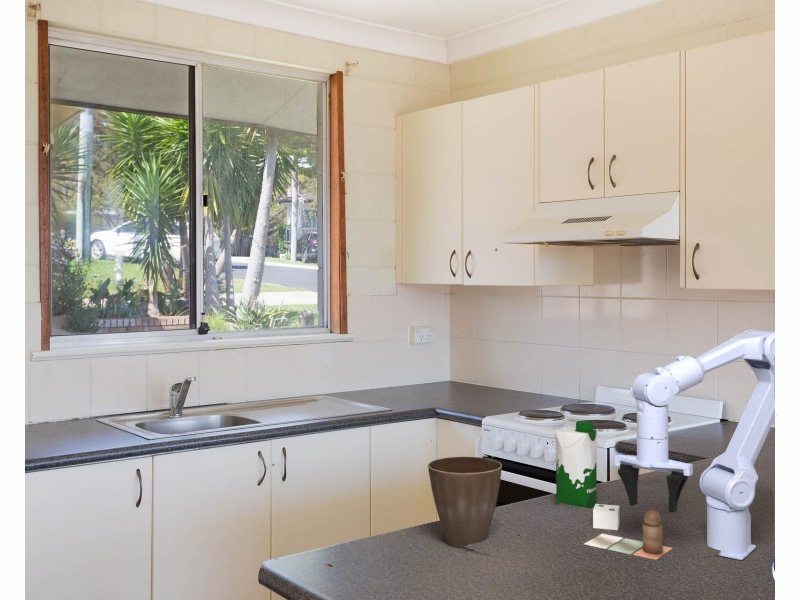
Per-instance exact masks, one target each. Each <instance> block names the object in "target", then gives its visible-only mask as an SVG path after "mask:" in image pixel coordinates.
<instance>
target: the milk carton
mask: <svg viewBox="0 0 800 600" xmlns="http://www.w3.org/2000/svg"><path fill="white" fill-rule="evenodd" d="M598 436H599V430H598V429H595V427H594V422H593V421H590V420H578V421H575V426H565V427H562V428H559V429H557V430H555V431H554V438H555V440H554V441H555V477H556V478H555V488H556V489H555V490H556V492H555V493H556V495H555V496H556V505H559V504H565V505H570V506H575V507H580V508H587V509H592V507H593V508H594V506H595V504H597V493H598V492H597V486H598V485H597V483H598V482H597V479H598V478H597V476H598V474H597V467H598V465H597V464H598V463H597V459H598V458H597V455H598V454H597V449H598V448H597V446H598V445H597V444H598Z"/></svg>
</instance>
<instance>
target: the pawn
mask: <svg viewBox="0 0 800 600" xmlns="http://www.w3.org/2000/svg"><path fill="white" fill-rule="evenodd" d="M661 522H662V516H661V514H660V512H659V511H657V510H654V509H649V510H647V511H646V512H645V513H644V514H643V523H642V542H643V546H642V548H643V551H644V552H645V553H649V554H661V553H663V546H664V545H663V544H664V543H663V540H664V538H663V535H664V534H663V533H664V532H663V524H662V523H661Z"/></svg>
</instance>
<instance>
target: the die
mask: <svg viewBox="0 0 800 600" xmlns="http://www.w3.org/2000/svg"><path fill="white" fill-rule="evenodd" d="M620 516H621V515H620V505H617V504H615V505H613V504H601V503H596V504H595V505H594V506H593V510H592V517H593V518H592V528H593V529H599V530H601V529H602V530H613V531H618V530H619V528H620Z"/></svg>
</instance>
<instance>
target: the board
mask: <svg viewBox="0 0 800 600" xmlns="http://www.w3.org/2000/svg"><path fill="white" fill-rule="evenodd" d="M583 545H585V546H586V545H587V546H591V547H596V548H598V549H599V548H600V549H604V550H609V551H614V552H619V553H623V554H628V555H633V556H637V557H643V558H645V559H650V560H658V559H660V558H661V557H662V556H664V555H666V554H667V553H669V551H672V549H673V547H670V546H665V545H663V553H661V554H649V553H645V552H644V551H643V541H640V540H636V539H631V538H624V537H622V536H616V535H611V534H607V533H601V534H599V535H597V536H595V537H593V538H592V539H590V540H588V541H587V542H584V543H583Z"/></svg>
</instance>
